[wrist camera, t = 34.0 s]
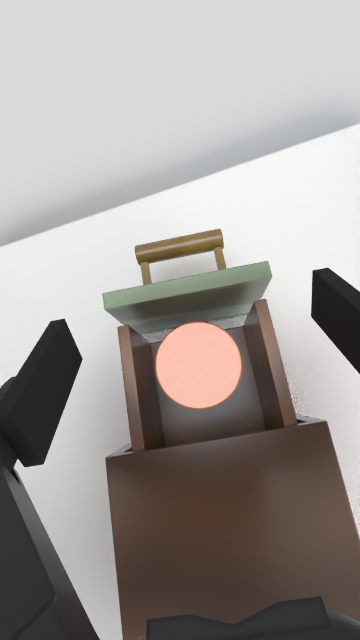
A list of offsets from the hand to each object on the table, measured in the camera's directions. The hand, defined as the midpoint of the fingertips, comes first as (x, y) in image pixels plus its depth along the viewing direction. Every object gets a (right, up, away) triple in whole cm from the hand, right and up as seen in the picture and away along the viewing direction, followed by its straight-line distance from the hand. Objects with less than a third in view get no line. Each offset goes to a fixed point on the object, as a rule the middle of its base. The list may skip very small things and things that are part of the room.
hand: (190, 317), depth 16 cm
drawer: (+1, -3, +12) cm, 12 cm away
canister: (+1, -5, +10) cm, 11 cm away
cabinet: (+4, -16, +9) cm, 19 cm away
